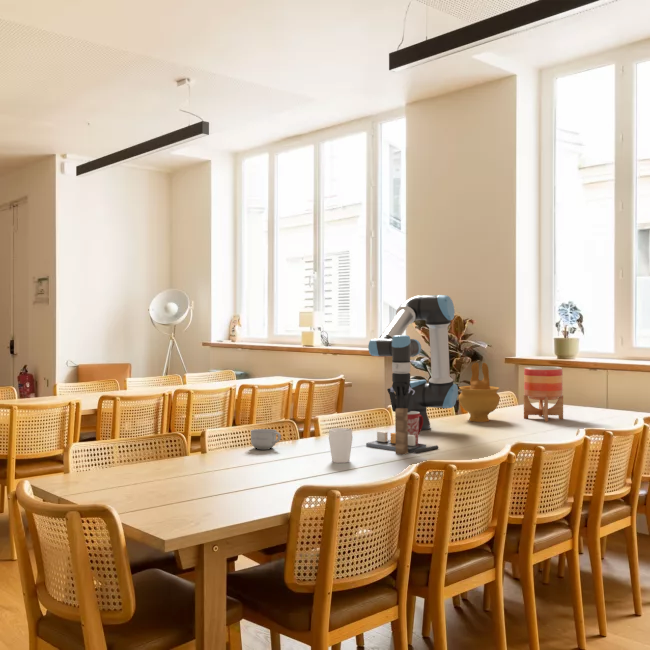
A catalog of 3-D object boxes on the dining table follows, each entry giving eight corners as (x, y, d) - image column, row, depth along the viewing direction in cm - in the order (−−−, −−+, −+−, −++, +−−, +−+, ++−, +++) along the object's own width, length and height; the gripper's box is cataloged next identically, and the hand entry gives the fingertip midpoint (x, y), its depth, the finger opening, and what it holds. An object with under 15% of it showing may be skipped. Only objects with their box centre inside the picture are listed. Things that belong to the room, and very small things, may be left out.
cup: (325, 460, 275) (325, 428, 275) (346, 457, 279) (346, 427, 279) (334, 464, 267) (334, 432, 267) (356, 462, 270) (356, 430, 270)
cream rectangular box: (407, 444, 297) (407, 434, 297) (415, 445, 294) (415, 435, 294) (404, 444, 295) (404, 435, 295) (412, 445, 293) (412, 436, 293)
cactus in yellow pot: (451, 421, 369) (451, 363, 368) (468, 416, 386) (468, 360, 385) (490, 424, 357) (490, 364, 356) (506, 419, 374) (505, 362, 373)
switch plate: (382, 442, 311) (382, 438, 311) (426, 448, 297) (426, 444, 297) (366, 446, 302) (366, 442, 302) (410, 452, 288) (410, 448, 288)
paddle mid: (393, 442, 301) (393, 432, 301) (401, 443, 299) (401, 433, 299) (390, 442, 300) (390, 433, 300) (398, 443, 297) (398, 434, 297)
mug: (409, 446, 301) (409, 414, 301) (394, 443, 309) (394, 412, 308) (430, 442, 309) (430, 411, 309) (415, 439, 316) (415, 409, 316)
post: (400, 452, 289) (400, 407, 289) (407, 453, 287) (407, 408, 286) (395, 453, 286) (395, 408, 286) (402, 454, 284) (402, 409, 284)
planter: (521, 415, 386) (521, 366, 386) (559, 416, 383) (559, 366, 383) (526, 421, 366) (526, 369, 366) (566, 421, 364) (566, 369, 363)
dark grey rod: (436, 448, 297) (436, 444, 297) (439, 448, 296) (439, 445, 296) (413, 453, 287) (413, 449, 287) (416, 453, 286) (416, 450, 286)
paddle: (379, 440, 306) (379, 431, 306) (387, 441, 303) (387, 431, 303) (377, 440, 304) (377, 431, 304) (384, 442, 302) (384, 432, 302)
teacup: (245, 448, 299) (245, 429, 299) (264, 445, 307) (264, 426, 307) (268, 453, 289) (267, 433, 289) (287, 449, 297) (287, 430, 297)
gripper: (383, 372, 298) (383, 428, 299) (409, 373, 290) (409, 432, 290) (393, 371, 304) (393, 426, 304) (419, 372, 295) (419, 429, 296)
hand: (401, 429), depth 297 cm, fingers closed
